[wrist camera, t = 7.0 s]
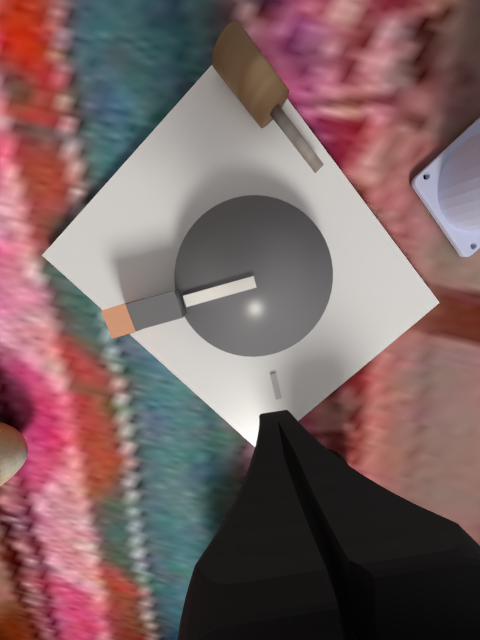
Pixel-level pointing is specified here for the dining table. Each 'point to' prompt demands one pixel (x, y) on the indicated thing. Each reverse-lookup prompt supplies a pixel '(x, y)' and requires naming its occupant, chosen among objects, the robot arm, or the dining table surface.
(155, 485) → the dining table surface
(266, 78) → the screwdriver
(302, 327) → the grey handled disc
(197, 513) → the dining table surface
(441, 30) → the dining table surface
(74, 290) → the dining table surface
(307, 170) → the board
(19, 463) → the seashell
